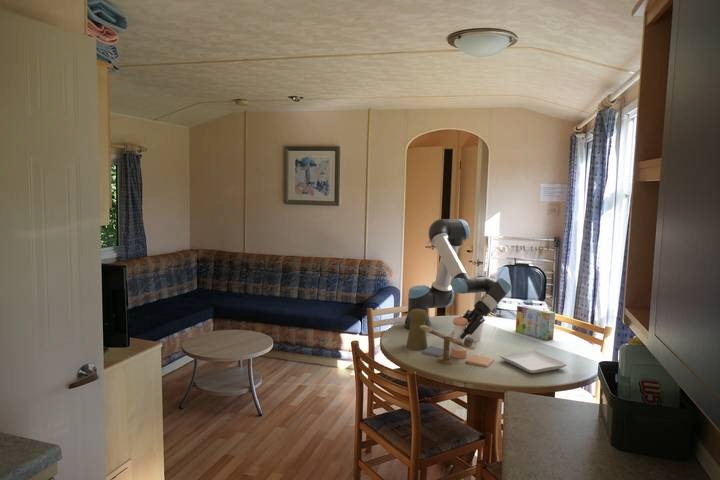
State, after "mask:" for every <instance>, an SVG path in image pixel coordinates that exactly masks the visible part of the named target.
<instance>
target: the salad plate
mask: <svg viewBox="0 0 720 480" xmlns="http://www.w3.org/2000/svg"><path fill="white" fill-rule="evenodd" d="M499 357H500V358H501V359H502V360H503V361H505V362H507V363H508V364H511V365H513V366H515V367H517V368H518V369H521V370H523V371H525V372H527V373H530V374H536V373H537V374H538V373H543V372H549V371H556V370H561V369H564V368H565V367H567V365H568V364H567V363H565V362H563V361H561V360H559V359H556V358H554V357H553V356H550V355H548V354H545V353H543V352H540V351H538V350H536V349H531V350H522V351H517V352H516V351H515V352H510V353H503V354H500V355H499Z"/></svg>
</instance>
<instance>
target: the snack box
mask: <svg viewBox="0 0 720 480" xmlns="http://www.w3.org/2000/svg"><path fill="white" fill-rule="evenodd" d="M555 319H556V312H555V311H550V310H547V309H542V308H537V307H533V306H529V305H525V304H519V305H517V306H516V320H515V332H517V333H520V334H524V335H528V336H531V337H533V338H539V339H542V340H545V341H553V340H554V331H555Z"/></svg>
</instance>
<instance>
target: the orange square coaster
mask: <svg viewBox="0 0 720 480" xmlns="http://www.w3.org/2000/svg"><path fill="white" fill-rule="evenodd" d="M494 362H495V359H494V358H491V357H486V356H482V355H476V354H473V355H471V356H470V357H469V358H467V359H466V360H465V363H466V364H470V365H474V366H479V367H484V368H489V367H490V365H491V364H493V363H494Z"/></svg>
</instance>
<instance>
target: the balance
mask: <svg viewBox="0 0 720 480" xmlns="http://www.w3.org/2000/svg"><path fill="white" fill-rule="evenodd" d="M420 329H422V330H423V331H426V333H429V334H432V335H433V336H436V337H438V338H440V339H443V349H444V350H443V356H440V357H437V358H436V362H438V363H442V364H446V365H453V364H454V363H455V362H456V358H454V357H450V344H451V343H455V344H457V345H460V346H462V347H464V348H466V349H468V350H470V351H474V350H476V345H474V344H473V343H474V341H473V340H474V339H472V338H469V337H468V336H466V338H465V340H464V343H462V342H460V341H458V340H455V339H453V338H450V337H448V335H446V334H443V333H440V332H438V331H435V330H434V329H433V327H432V326H431V327H429V326H426V325H421V326H420Z"/></svg>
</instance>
